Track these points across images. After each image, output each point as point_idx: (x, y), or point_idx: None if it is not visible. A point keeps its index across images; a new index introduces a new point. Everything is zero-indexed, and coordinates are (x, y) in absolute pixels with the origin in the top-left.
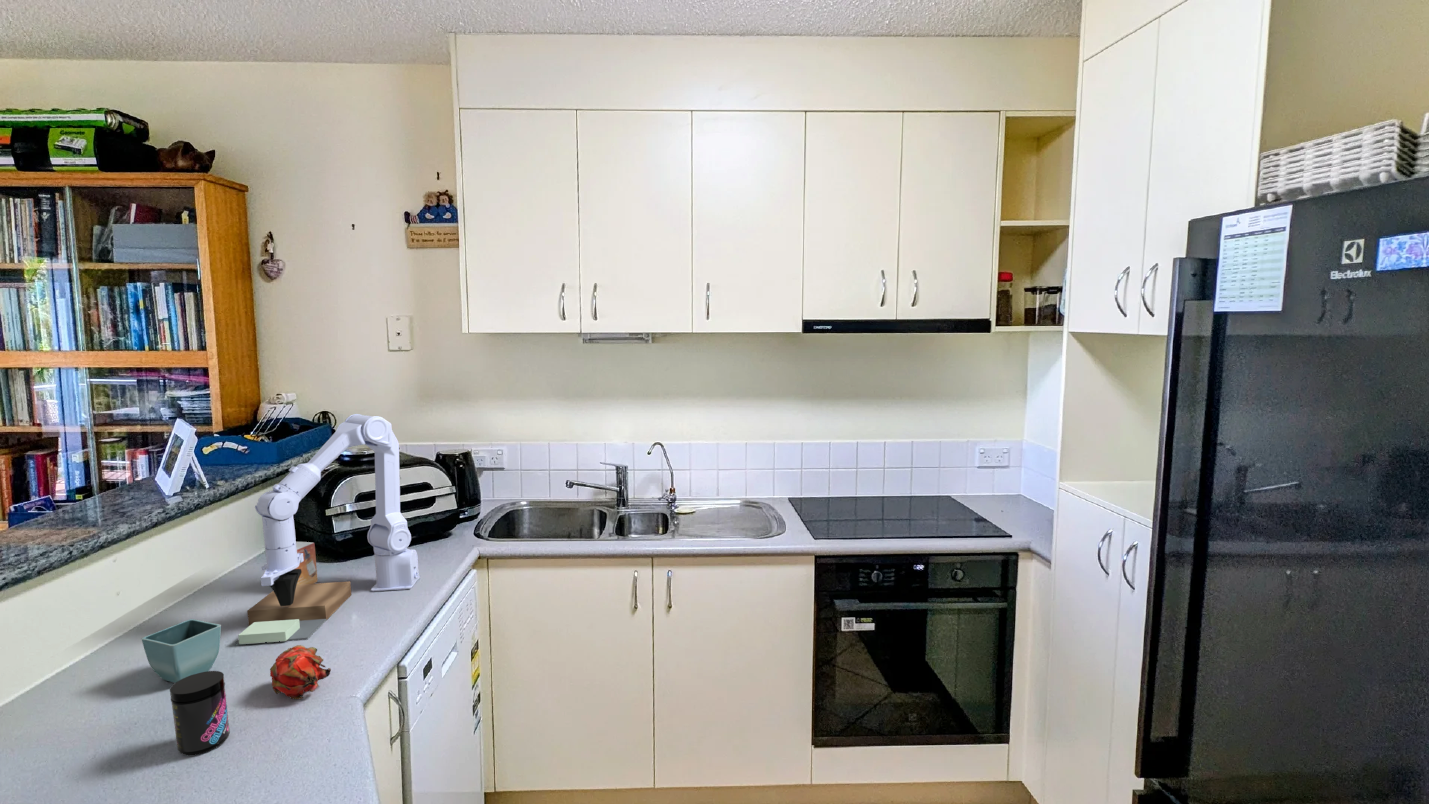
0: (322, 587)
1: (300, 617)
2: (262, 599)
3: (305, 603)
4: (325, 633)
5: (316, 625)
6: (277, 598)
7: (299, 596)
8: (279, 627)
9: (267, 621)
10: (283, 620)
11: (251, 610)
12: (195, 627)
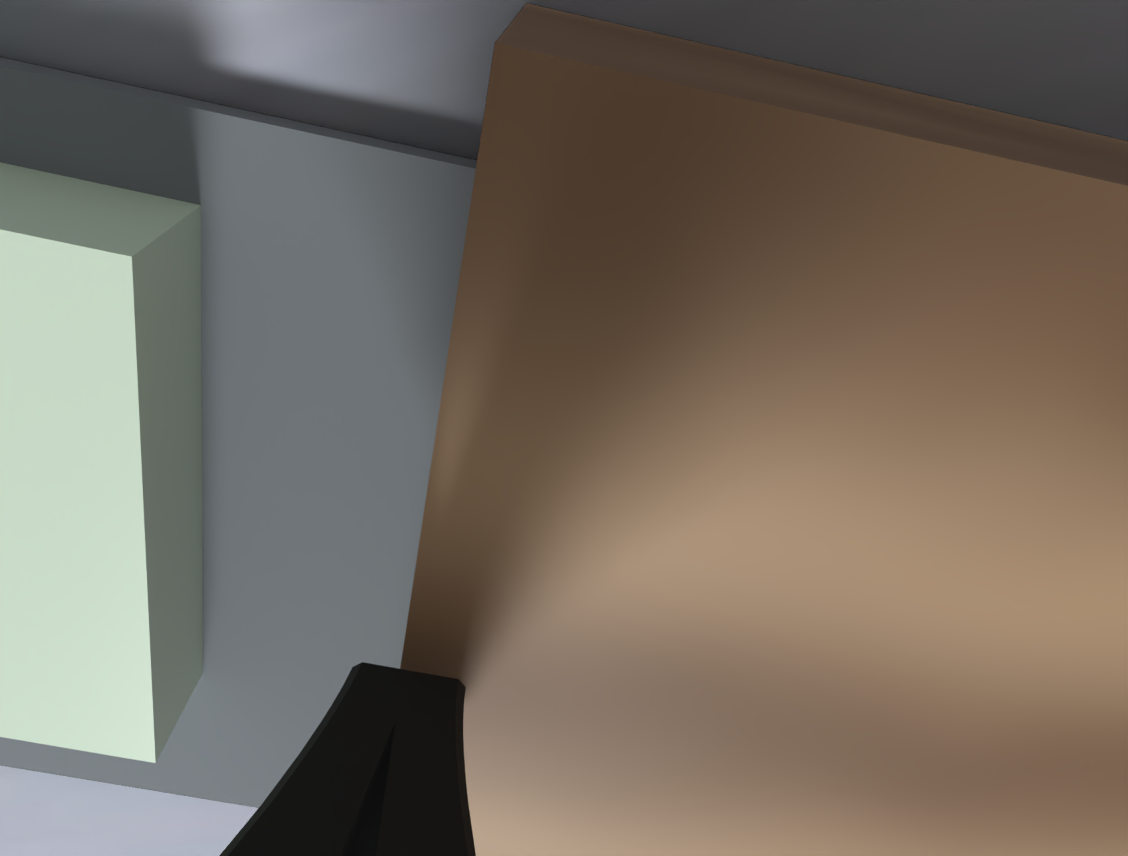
0: None
1: None
2: (1118, 206)
3: (501, 838)
4: (89, 831)
5: (235, 783)
6: (287, 774)
7: (853, 750)
8: None
9: (132, 448)
10: (141, 626)
11: (485, 140)
12: None
